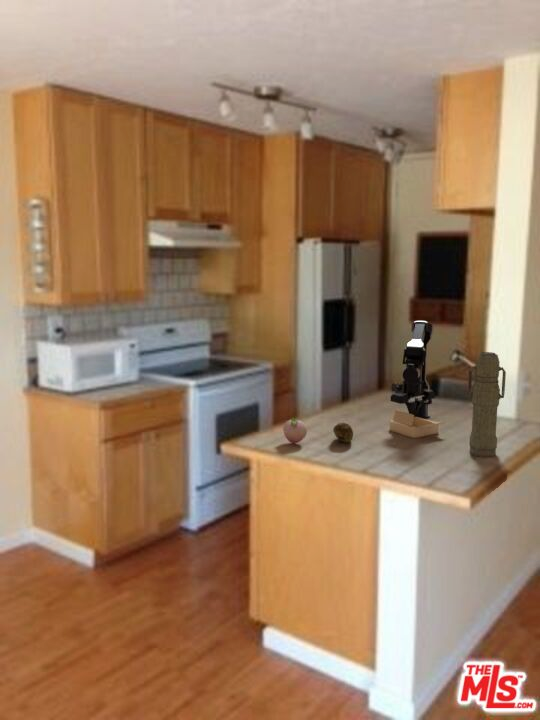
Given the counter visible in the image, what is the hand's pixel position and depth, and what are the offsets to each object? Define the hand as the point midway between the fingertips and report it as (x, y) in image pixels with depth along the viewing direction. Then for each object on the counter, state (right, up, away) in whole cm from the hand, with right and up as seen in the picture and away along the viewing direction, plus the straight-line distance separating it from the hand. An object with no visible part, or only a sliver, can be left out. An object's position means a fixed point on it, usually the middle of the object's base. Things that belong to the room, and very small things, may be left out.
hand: (412, 418), depth 258 cm
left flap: (+5, -2, -4) cm, 7 cm away
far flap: (-4, -2, -2) cm, 5 cm away
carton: (+1, -5, +2) cm, 6 cm away
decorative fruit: (-45, -8, -15) cm, 49 cm away
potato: (-28, -8, -13) cm, 32 cm away
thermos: (+19, -10, -26) cm, 33 cm away
